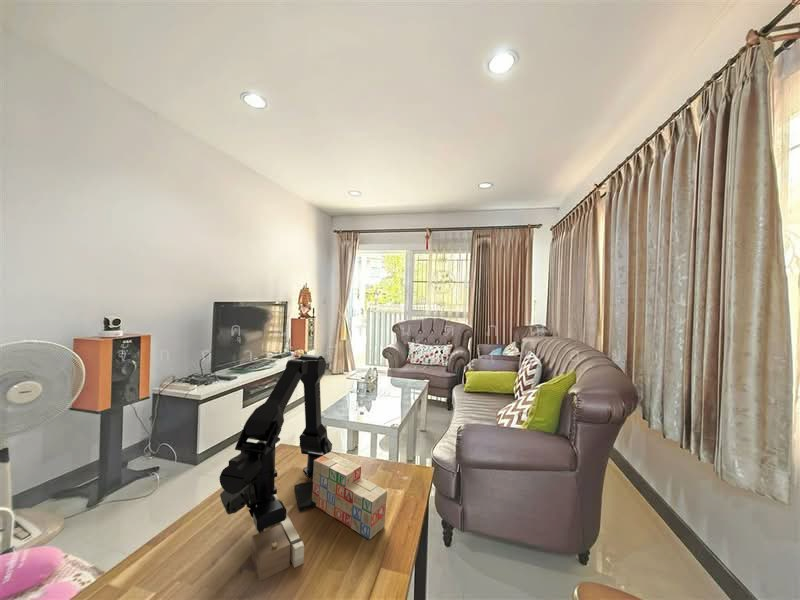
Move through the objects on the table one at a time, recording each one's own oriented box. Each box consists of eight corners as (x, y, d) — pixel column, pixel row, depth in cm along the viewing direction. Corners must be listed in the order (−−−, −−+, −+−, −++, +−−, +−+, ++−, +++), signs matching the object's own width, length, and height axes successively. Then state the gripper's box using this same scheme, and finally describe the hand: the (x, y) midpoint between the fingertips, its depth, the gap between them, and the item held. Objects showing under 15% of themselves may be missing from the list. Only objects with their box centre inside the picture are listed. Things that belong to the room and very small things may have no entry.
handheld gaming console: (287, 485, 93) (308, 455, 95) (305, 491, 97) (326, 462, 99) (298, 513, 84) (322, 479, 86) (318, 519, 87) (340, 486, 90)
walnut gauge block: (251, 558, 70) (252, 530, 70) (279, 545, 73) (280, 519, 73) (259, 581, 64) (260, 551, 64) (289, 567, 68) (290, 538, 68)
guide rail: (264, 505, 86) (265, 490, 86) (272, 502, 88) (272, 487, 88) (294, 568, 67) (294, 548, 67) (303, 563, 69) (304, 544, 69)
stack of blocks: (385, 526, 80) (388, 478, 80) (369, 541, 75) (372, 490, 75) (327, 492, 93) (330, 450, 93) (310, 503, 87) (313, 458, 87)
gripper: (217, 460, 77) (216, 522, 78) (231, 502, 63) (230, 578, 63) (264, 447, 84) (263, 504, 85) (288, 482, 70) (286, 551, 70)
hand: (260, 531), depth 76 cm, fingers closed
